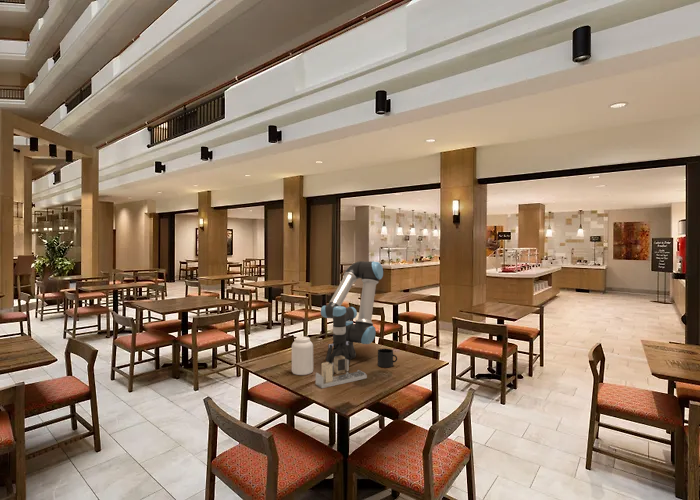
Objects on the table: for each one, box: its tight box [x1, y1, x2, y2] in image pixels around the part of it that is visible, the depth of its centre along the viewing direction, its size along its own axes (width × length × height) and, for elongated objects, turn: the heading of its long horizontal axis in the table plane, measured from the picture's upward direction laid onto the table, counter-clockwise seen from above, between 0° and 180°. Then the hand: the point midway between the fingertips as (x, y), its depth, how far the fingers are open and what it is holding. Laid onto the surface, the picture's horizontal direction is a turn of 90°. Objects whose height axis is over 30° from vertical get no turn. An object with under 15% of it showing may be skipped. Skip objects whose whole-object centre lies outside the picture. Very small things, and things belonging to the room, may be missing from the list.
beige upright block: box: [333, 355, 346, 375], centre depth 216 cm, size 5×5×9 cm
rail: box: [315, 361, 368, 389], centre depth 202 cm, size 7×28×11 cm, turn 121°
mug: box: [377, 348, 398, 369], centre depth 228 cm, size 9×12×9 cm
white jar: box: [291, 336, 314, 376], centre depth 217 cm, size 12×12×20 cm
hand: (339, 371), depth 216 cm, fingers open, 9 cm apart
